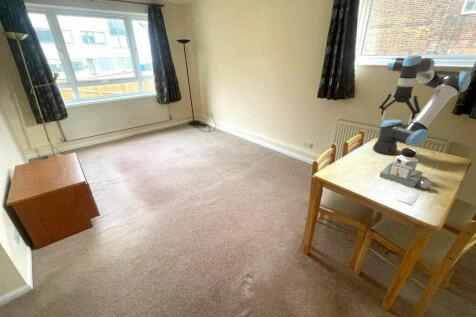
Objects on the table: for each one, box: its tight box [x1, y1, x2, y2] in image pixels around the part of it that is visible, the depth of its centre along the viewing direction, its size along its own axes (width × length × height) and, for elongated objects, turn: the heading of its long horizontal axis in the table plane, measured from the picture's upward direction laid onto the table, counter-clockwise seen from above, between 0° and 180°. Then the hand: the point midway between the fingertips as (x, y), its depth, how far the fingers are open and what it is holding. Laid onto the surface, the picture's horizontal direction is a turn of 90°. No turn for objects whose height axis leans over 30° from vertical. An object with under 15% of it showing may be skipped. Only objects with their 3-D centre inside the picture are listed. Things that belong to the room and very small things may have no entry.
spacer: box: [416, 178, 432, 192], centre depth 121 cm, size 5×5×4 cm
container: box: [393, 147, 419, 172], centre depth 129 cm, size 8×8×13 cm
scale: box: [379, 161, 424, 188], centre depth 130 cm, size 18×17×10 cm
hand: (395, 122), depth 135 cm, fingers open, 13 cm apart
